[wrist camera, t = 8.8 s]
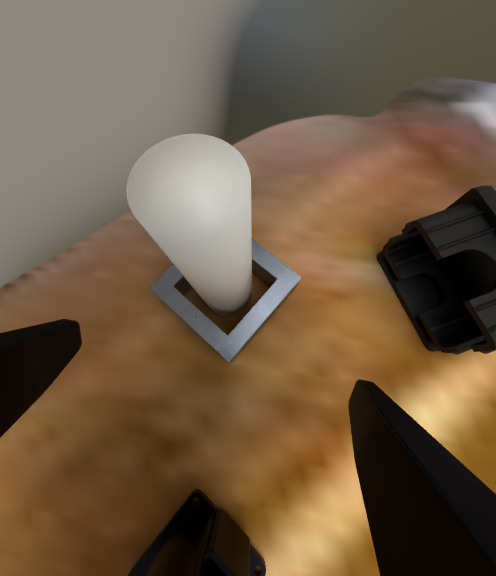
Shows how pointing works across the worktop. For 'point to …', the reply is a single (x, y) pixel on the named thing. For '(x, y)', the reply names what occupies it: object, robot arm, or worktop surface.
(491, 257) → the end cap
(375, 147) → the worktop surface
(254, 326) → the square frame
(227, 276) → the white tapered peg
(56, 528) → the worktop surface
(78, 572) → the worktop surface
